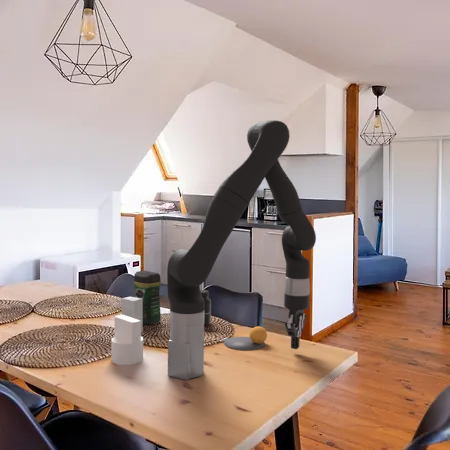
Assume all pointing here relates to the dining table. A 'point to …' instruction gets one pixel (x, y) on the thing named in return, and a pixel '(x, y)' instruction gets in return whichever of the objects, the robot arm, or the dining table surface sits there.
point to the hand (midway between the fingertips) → (295, 348)
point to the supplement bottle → (206, 307)
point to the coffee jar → (148, 295)
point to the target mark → (242, 343)
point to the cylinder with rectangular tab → (127, 341)
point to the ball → (258, 335)
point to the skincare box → (133, 308)
